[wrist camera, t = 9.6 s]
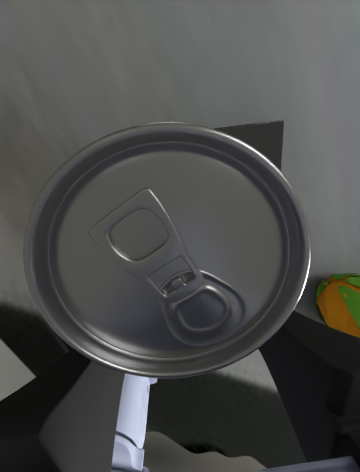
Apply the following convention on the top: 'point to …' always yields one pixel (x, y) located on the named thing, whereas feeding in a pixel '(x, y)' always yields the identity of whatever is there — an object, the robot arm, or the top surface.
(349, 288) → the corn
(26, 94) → the top surface
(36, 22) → the top surface
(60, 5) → the top surface
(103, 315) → the can
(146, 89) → the top surface
